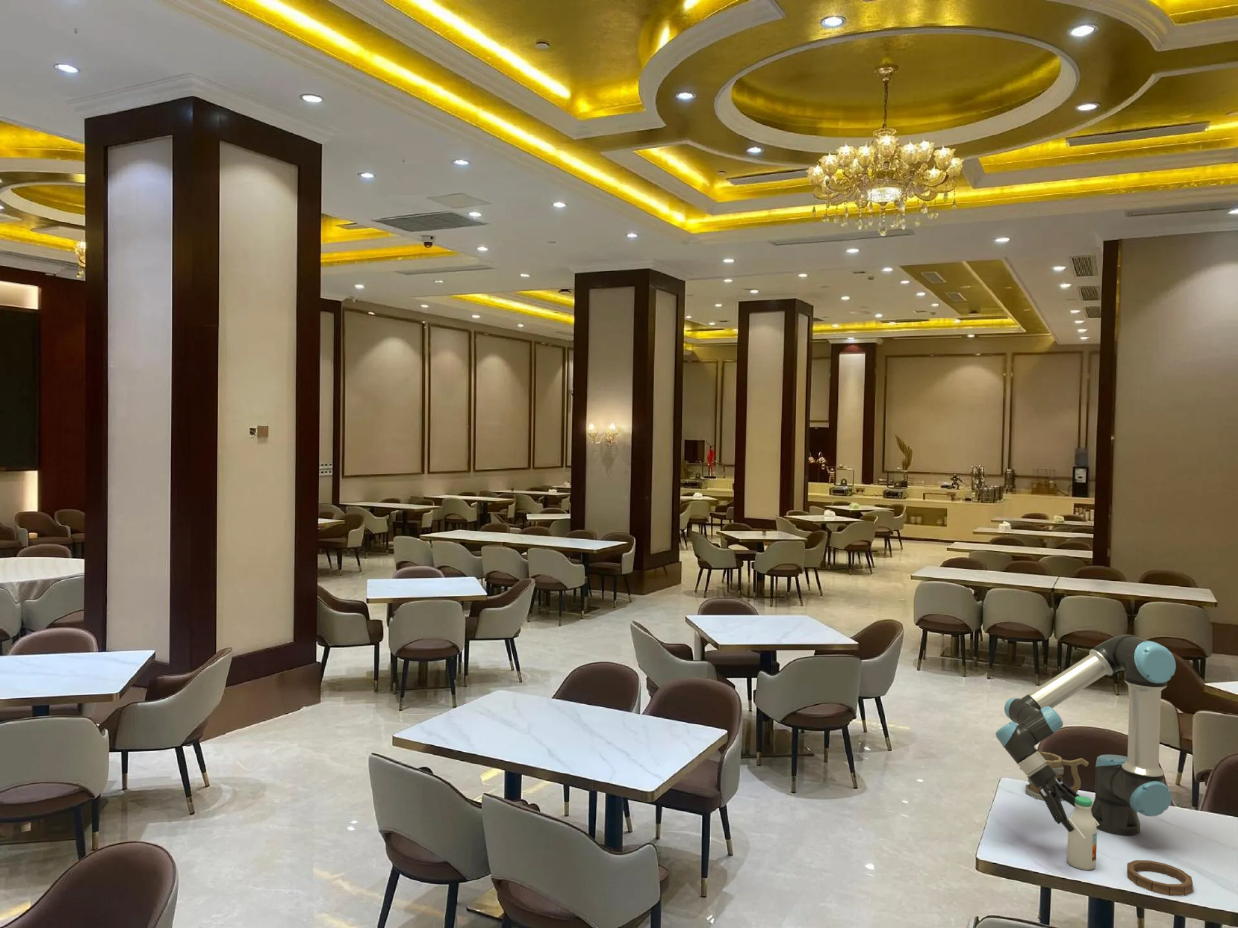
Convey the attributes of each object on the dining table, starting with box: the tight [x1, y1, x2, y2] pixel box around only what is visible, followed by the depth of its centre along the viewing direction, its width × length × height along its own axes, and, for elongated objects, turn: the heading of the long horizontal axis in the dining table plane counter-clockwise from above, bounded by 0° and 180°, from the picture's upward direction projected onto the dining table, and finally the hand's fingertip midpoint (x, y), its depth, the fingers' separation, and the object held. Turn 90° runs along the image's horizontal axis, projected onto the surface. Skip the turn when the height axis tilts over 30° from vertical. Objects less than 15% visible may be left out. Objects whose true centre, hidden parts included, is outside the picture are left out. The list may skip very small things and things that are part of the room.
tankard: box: [1025, 751, 1089, 802], centre depth 321 cm, size 20×13×15 cm, turn 66°
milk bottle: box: [1066, 795, 1098, 871], centre depth 267 cm, size 8×8×20 cm
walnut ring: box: [1126, 859, 1194, 896], centre depth 258 cm, size 16×16×2 cm
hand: (1088, 833), depth 266 cm, fingers open, 13 cm apart
